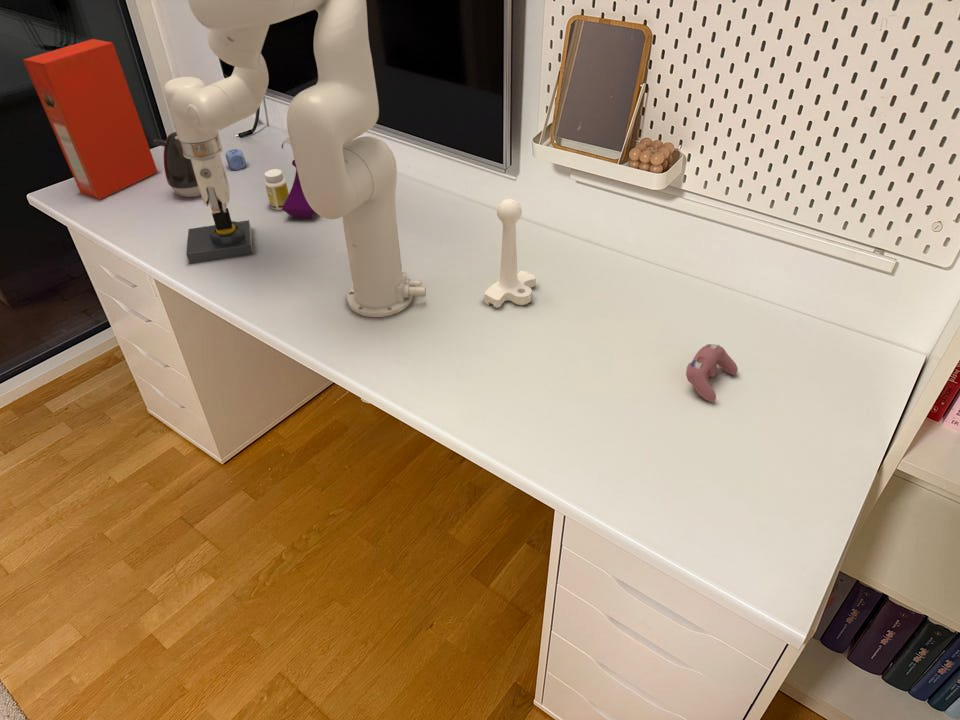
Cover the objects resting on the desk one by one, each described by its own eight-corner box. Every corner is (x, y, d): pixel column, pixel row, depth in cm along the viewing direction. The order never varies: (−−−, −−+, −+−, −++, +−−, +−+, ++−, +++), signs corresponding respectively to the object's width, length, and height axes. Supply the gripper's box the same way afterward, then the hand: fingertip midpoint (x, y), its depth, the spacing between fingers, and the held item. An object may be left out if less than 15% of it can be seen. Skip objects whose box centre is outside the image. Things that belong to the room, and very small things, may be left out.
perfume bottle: (325, 207, 164) (311, 133, 152) (316, 222, 158) (301, 147, 147) (294, 206, 165) (278, 132, 153) (284, 221, 159) (267, 146, 147)
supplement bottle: (293, 201, 167) (286, 168, 161) (287, 210, 163) (280, 177, 158) (274, 200, 167) (266, 168, 162) (267, 210, 163) (259, 176, 158)
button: (237, 230, 151) (235, 221, 149) (237, 239, 148) (235, 230, 146) (218, 233, 150) (215, 224, 149) (218, 242, 147) (215, 233, 146)
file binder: (79, 193, 172) (22, 58, 152) (137, 166, 183) (91, 38, 163) (100, 200, 169) (44, 64, 148) (158, 173, 180) (113, 42, 160)
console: (251, 229, 156) (246, 211, 153) (252, 254, 148) (248, 236, 145) (191, 238, 154) (185, 220, 151) (189, 264, 146) (183, 245, 143)
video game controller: (715, 371, 119) (705, 335, 116) (740, 372, 115) (730, 335, 113) (689, 402, 113) (677, 366, 110) (715, 404, 110) (703, 366, 107)
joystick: (519, 277, 139) (521, 185, 126) (548, 292, 135) (552, 199, 122) (480, 300, 134) (478, 206, 121) (508, 317, 129) (509, 221, 116)
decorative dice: (231, 171, 180) (227, 156, 178) (228, 165, 183) (224, 151, 180) (247, 167, 182) (243, 153, 179) (243, 162, 184) (239, 147, 182)
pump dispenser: (169, 188, 173) (149, 129, 163) (211, 179, 176) (194, 121, 167) (173, 205, 166) (153, 144, 156) (218, 196, 169) (200, 136, 159)
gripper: (220, 157, 131) (243, 242, 143) (221, 128, 142) (242, 209, 154) (179, 162, 130) (205, 247, 141) (182, 132, 141) (207, 214, 152)
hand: (224, 227), depth 148 cm, fingers closed
